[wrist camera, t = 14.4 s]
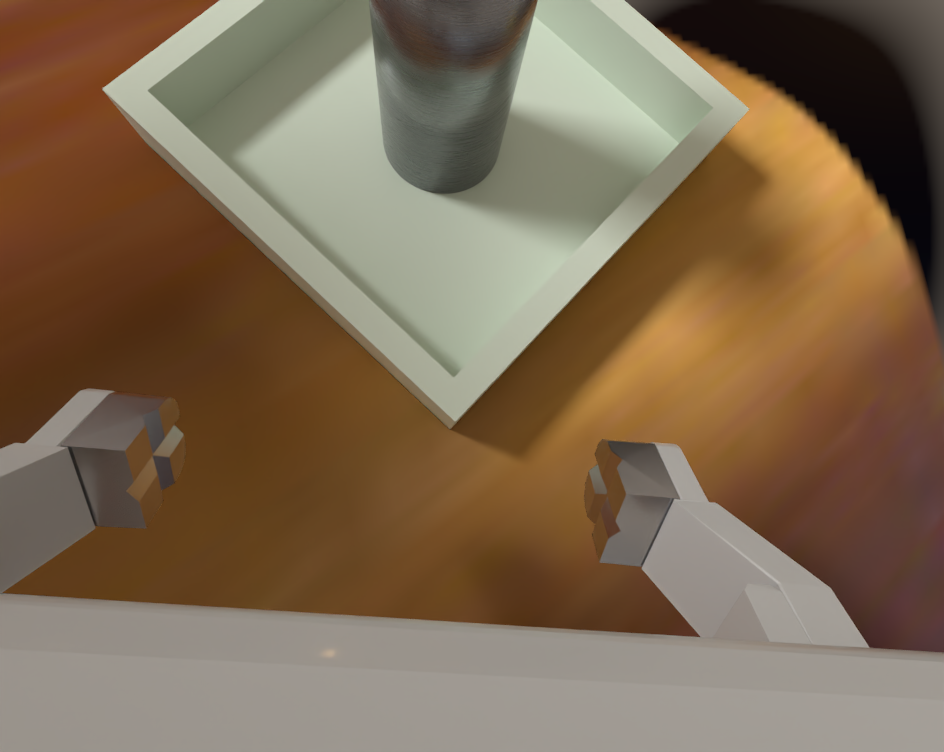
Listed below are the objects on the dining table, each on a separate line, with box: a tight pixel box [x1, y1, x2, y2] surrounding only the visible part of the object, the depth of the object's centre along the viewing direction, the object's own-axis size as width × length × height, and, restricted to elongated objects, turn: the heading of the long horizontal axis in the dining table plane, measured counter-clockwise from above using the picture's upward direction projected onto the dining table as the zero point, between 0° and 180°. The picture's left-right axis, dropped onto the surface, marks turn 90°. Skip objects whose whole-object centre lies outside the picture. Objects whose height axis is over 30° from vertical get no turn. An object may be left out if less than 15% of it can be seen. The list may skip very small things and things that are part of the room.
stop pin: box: [369, 0, 538, 194], centre depth 16 cm, size 6×6×12 cm
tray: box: [102, 0, 749, 429], centre depth 21 cm, size 16×16×3 cm
